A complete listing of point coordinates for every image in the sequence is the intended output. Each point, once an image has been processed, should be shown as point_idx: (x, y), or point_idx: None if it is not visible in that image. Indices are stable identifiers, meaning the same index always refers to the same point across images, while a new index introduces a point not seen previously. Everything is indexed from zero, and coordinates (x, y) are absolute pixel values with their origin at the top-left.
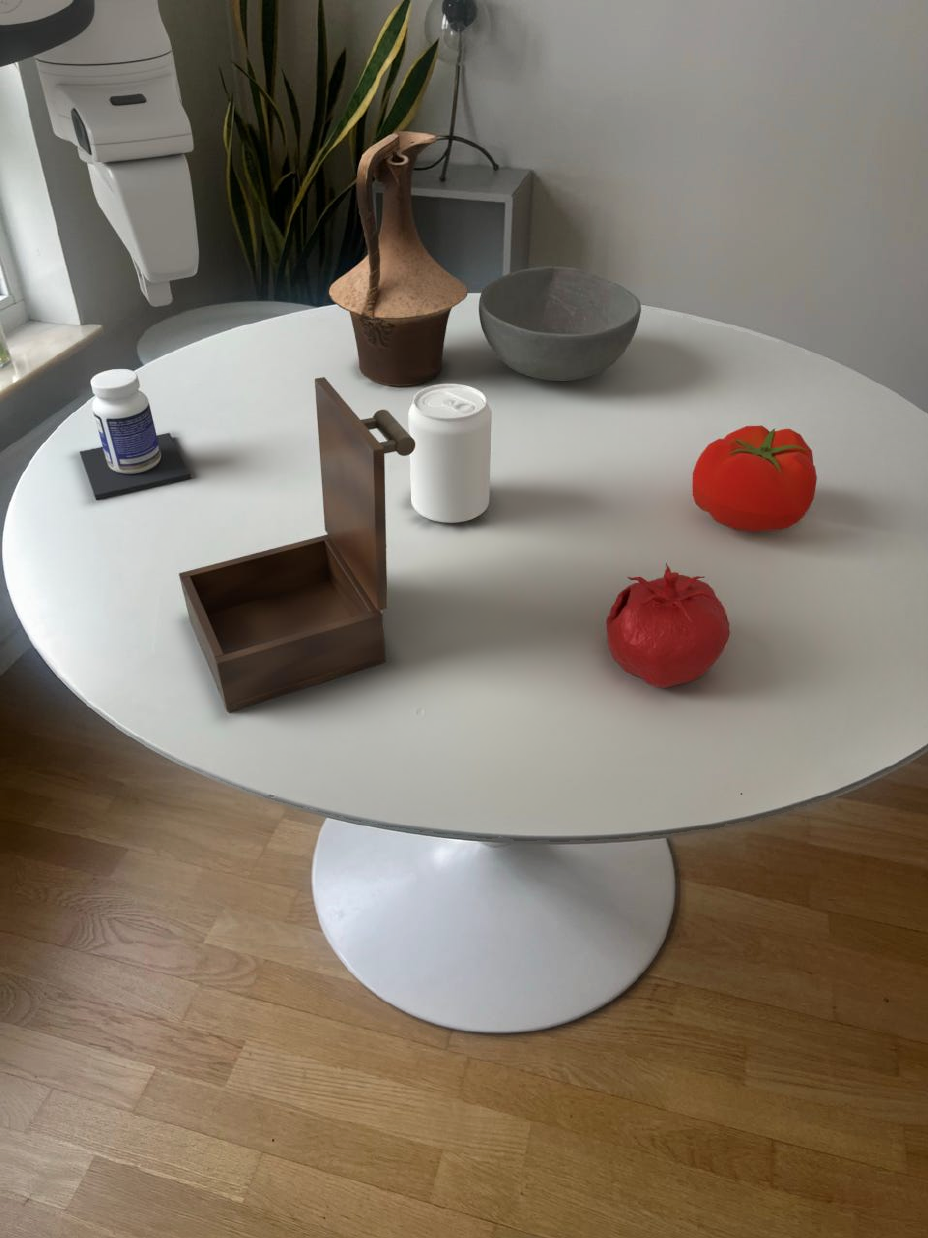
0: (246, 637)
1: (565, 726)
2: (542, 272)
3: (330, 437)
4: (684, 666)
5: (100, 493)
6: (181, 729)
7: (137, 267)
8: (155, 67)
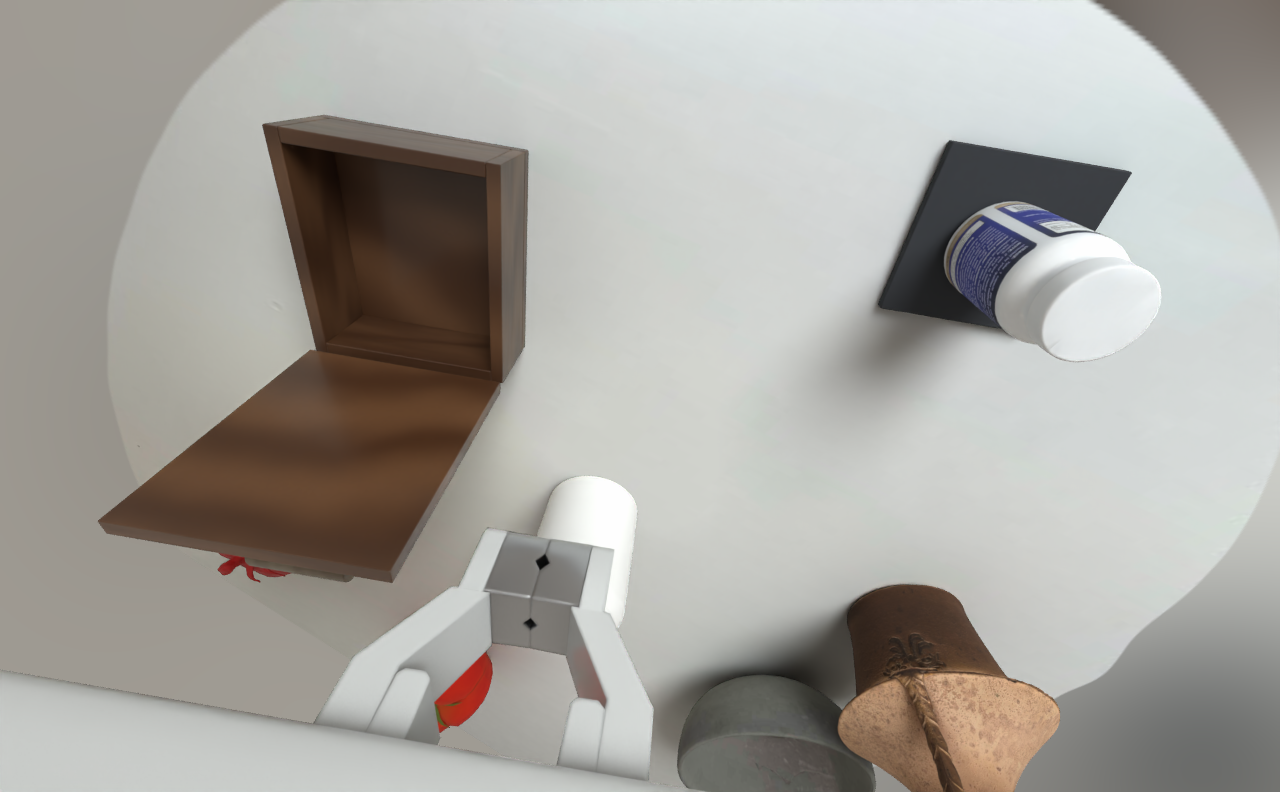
0: (441, 201)
1: (231, 396)
2: None
3: (362, 495)
4: None
5: (949, 153)
6: (308, 40)
7: (580, 632)
8: None
